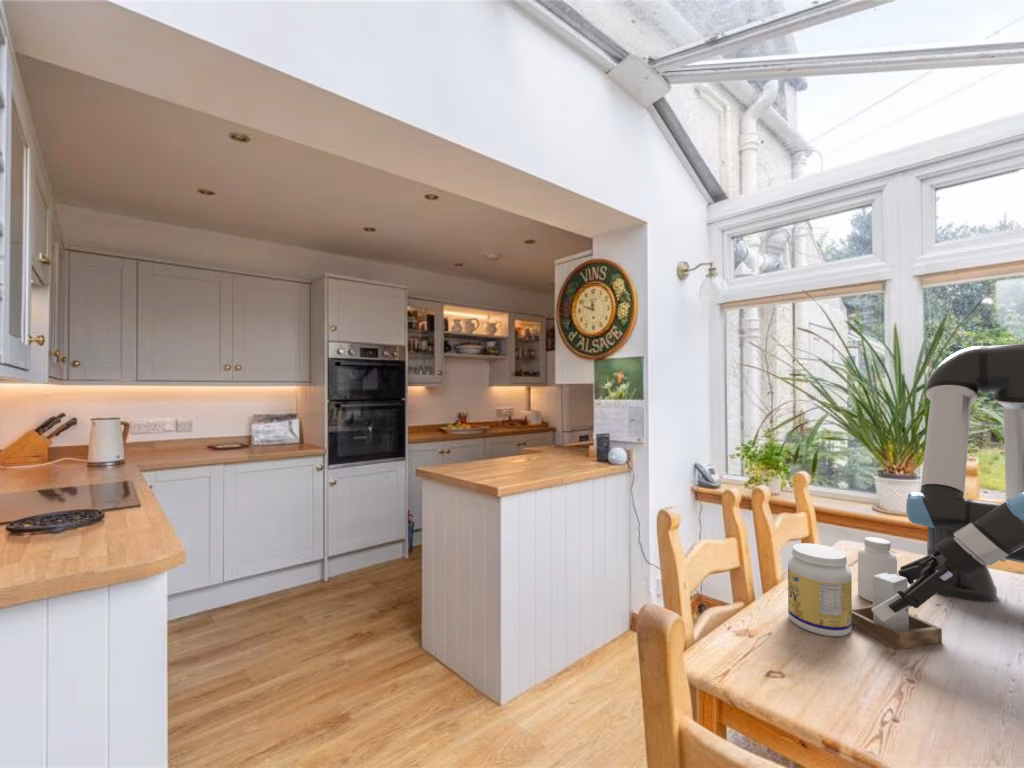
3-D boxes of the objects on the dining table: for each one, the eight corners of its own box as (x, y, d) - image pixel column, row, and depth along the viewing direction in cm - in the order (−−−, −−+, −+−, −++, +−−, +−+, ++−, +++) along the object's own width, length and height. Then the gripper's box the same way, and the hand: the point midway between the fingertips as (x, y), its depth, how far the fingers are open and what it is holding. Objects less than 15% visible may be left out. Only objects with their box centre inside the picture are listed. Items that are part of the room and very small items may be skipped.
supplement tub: (779, 610, 115) (779, 540, 115) (835, 614, 113) (834, 543, 113) (801, 636, 103) (800, 558, 103) (863, 641, 101) (863, 561, 101)
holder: (885, 616, 112) (885, 603, 112) (941, 642, 100) (941, 628, 100) (843, 621, 109) (843, 608, 109) (896, 649, 97) (896, 634, 97)
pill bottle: (904, 607, 116) (904, 545, 116) (867, 604, 118) (867, 543, 118) (886, 593, 124) (885, 536, 124) (851, 590, 126) (851, 534, 126)
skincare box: (895, 640, 101) (894, 583, 101) (871, 630, 105) (871, 575, 105) (910, 633, 104) (909, 578, 104) (887, 624, 108) (886, 571, 108)
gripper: (1000, 587, 85) (894, 643, 94) (977, 549, 105) (891, 599, 114) (959, 551, 89) (860, 609, 98) (944, 521, 108) (863, 572, 117)
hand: (877, 603), depth 106 cm, fingers open, 13 cm apart
